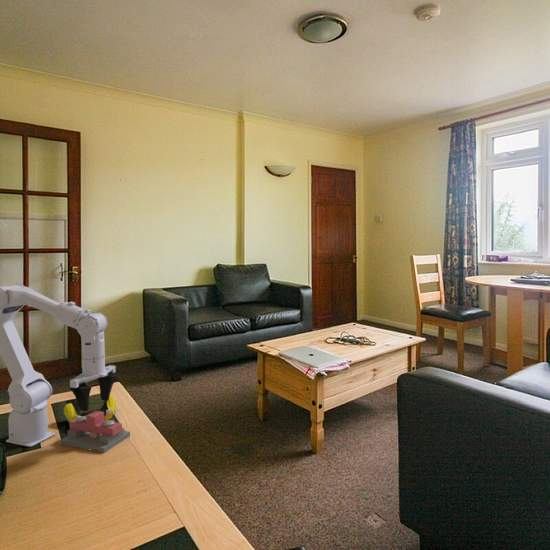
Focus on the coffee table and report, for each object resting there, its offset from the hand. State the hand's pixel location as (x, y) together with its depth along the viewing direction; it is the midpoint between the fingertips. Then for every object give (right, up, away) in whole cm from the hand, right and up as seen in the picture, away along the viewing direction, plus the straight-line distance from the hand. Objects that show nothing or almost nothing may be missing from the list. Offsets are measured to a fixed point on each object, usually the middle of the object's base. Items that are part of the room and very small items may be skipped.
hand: (94, 405), depth 107 cm
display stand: (0, -10, 0) cm, 10 cm away
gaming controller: (-8, -10, +14) cm, 19 cm away
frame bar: (0, -7, 0) cm, 7 cm away
